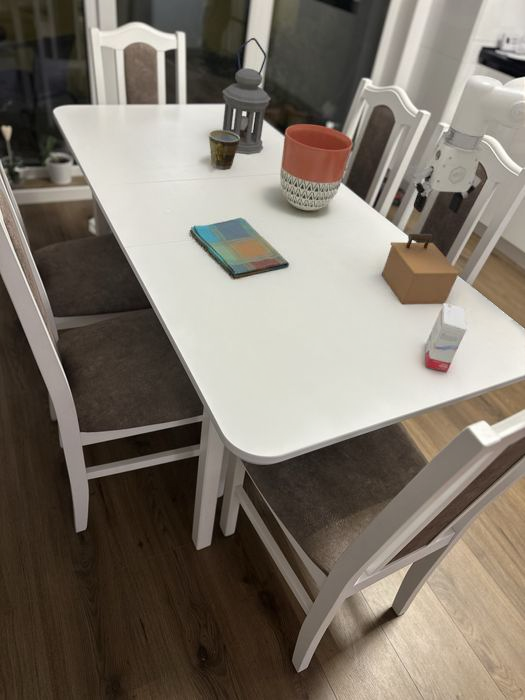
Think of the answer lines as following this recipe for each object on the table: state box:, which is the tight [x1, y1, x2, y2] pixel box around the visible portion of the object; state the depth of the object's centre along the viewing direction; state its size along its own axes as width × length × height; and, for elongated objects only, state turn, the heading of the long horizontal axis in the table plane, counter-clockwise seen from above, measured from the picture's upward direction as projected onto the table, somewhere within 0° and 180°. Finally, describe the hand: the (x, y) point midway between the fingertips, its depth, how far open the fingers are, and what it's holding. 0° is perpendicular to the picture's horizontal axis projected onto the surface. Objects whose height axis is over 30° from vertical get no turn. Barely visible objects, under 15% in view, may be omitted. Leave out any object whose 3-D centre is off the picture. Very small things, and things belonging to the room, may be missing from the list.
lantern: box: [221, 37, 272, 155], centre depth 186 cm, size 17×17×35 cm
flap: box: [390, 233, 460, 276], centre depth 133 cm, size 14×12×4 cm
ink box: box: [425, 302, 467, 373], centre depth 115 cm, size 9×5×12 cm, turn 165°
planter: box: [279, 123, 354, 212], centre depth 160 cm, size 20×20×21 cm
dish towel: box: [189, 217, 290, 278], centre depth 141 cm, size 17×23×2 cm
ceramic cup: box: [208, 129, 240, 171], centre depth 177 cm, size 13×10×10 cm
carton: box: [381, 245, 459, 305], centre depth 137 cm, size 13×12×9 cm
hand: (435, 210), depth 129 cm, fingers open, 9 cm apart
